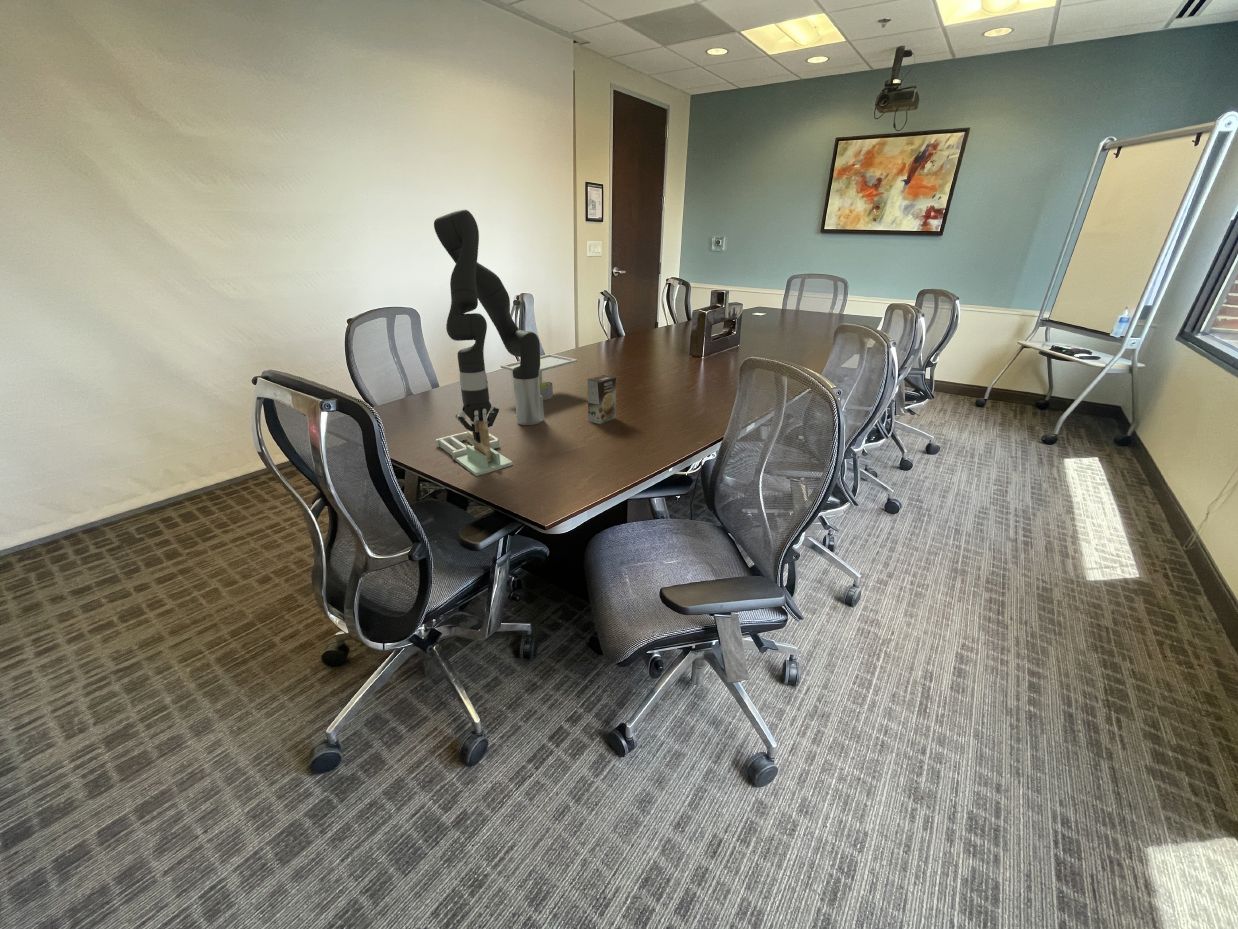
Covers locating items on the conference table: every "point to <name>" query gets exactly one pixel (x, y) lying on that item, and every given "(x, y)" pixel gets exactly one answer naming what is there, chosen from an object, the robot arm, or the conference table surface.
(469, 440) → the offcut stack
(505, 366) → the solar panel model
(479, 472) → the stand
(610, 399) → the coffee box
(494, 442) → the rack
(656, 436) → the conference table surface
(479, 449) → the wooden board
